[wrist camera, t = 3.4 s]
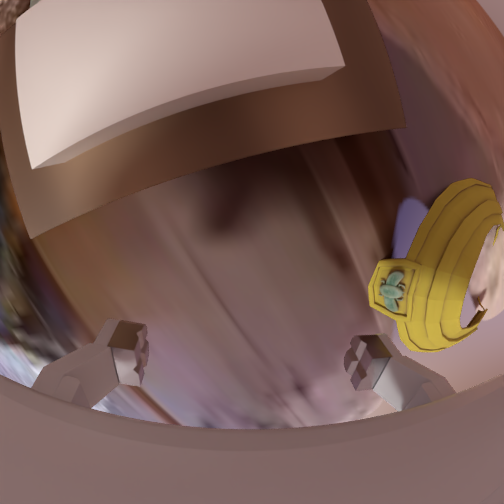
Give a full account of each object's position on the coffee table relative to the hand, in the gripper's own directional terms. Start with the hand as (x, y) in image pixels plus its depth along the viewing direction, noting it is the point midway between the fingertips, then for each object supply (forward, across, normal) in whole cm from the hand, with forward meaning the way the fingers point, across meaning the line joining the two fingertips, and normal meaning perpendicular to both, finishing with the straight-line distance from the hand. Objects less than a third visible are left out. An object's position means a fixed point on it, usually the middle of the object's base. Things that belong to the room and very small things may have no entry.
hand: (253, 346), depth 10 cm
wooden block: (+5, +4, -11) cm, 12 cm away
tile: (+1, +4, -11) cm, 12 cm away
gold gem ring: (+5, -13, -2) cm, 15 cm away
